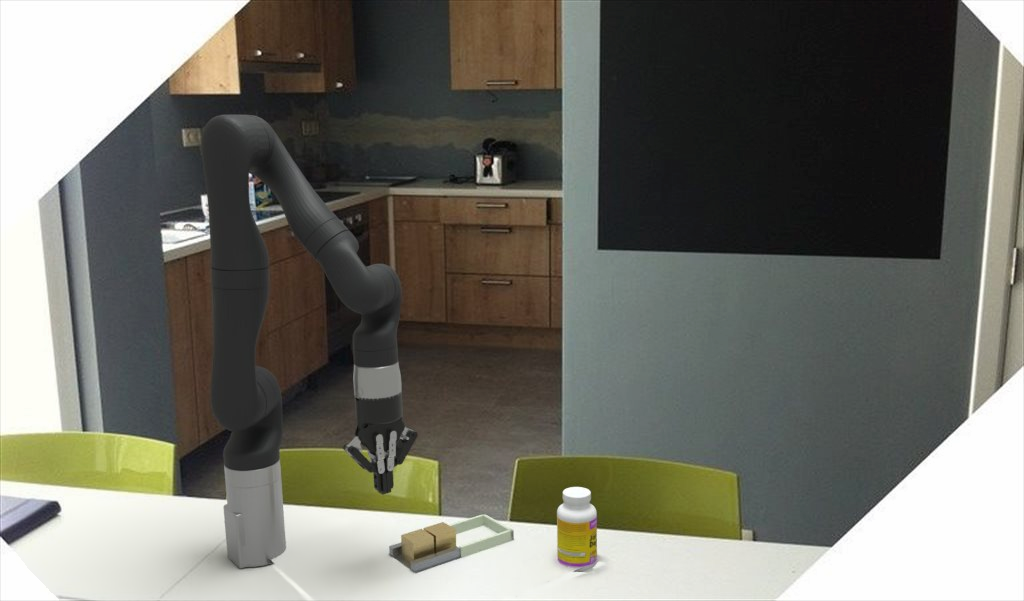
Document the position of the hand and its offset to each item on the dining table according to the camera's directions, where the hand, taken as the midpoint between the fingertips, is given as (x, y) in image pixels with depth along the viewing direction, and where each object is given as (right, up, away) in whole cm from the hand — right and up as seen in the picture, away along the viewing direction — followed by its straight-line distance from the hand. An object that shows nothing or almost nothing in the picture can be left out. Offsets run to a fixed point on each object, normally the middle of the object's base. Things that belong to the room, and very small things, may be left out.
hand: (384, 492), depth 155 cm
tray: (+14, -12, +13) cm, 22 cm away
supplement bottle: (+32, -13, +5) cm, 35 cm away
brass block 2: (+9, -12, +9) cm, 17 cm away
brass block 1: (+5, -12, +6) cm, 15 cm away
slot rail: (+6, -13, +7) cm, 16 cm away
